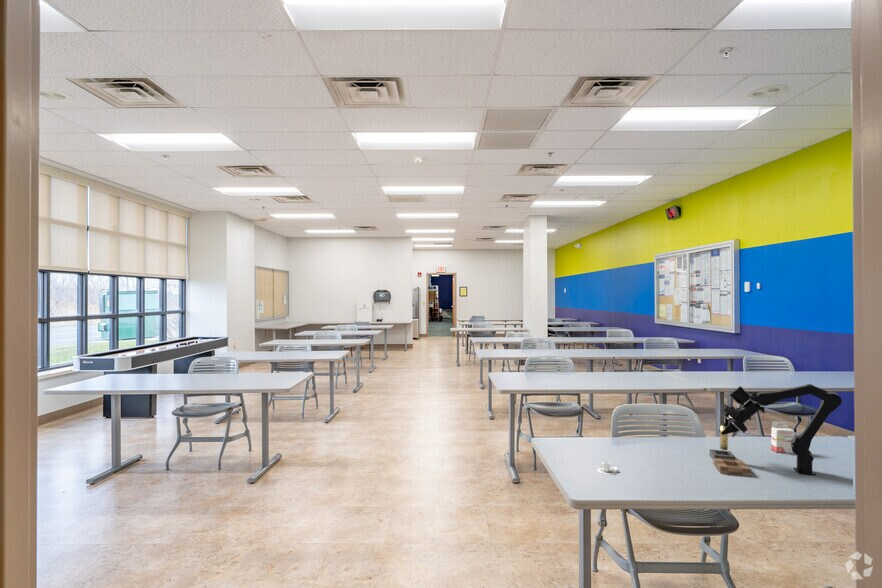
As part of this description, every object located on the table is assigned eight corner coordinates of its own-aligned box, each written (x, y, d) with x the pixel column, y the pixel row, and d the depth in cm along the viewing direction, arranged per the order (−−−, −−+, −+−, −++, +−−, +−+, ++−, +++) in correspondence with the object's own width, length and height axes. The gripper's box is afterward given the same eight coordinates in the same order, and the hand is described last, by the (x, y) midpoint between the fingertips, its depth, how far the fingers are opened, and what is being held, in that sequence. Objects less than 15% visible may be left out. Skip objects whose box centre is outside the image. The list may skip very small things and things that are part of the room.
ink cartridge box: (776, 452, 241) (776, 423, 241) (770, 449, 246) (770, 421, 246) (794, 453, 240) (794, 424, 240) (788, 450, 245) (788, 421, 245)
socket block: (735, 463, 225) (735, 456, 225) (714, 461, 228) (714, 455, 228) (729, 457, 234) (729, 450, 234) (709, 455, 237) (709, 449, 237)
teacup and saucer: (619, 471, 216) (619, 462, 216) (615, 477, 209) (615, 467, 209) (599, 467, 220) (599, 458, 220) (595, 473, 214) (595, 464, 214)
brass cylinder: (728, 450, 227) (728, 427, 227) (721, 449, 228) (721, 426, 228) (726, 448, 230) (726, 425, 230) (719, 447, 231) (719, 425, 231)
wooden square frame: (751, 476, 209) (751, 469, 209) (720, 473, 213) (720, 466, 213) (742, 466, 221) (742, 460, 221) (713, 464, 224) (713, 457, 224)
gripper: (727, 395, 236) (702, 415, 240) (739, 403, 219) (712, 425, 222) (745, 411, 234) (720, 432, 237) (758, 421, 216) (731, 443, 219)
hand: (720, 432), depth 229 cm, fingers closed on brass cylinder, 3 cm apart
